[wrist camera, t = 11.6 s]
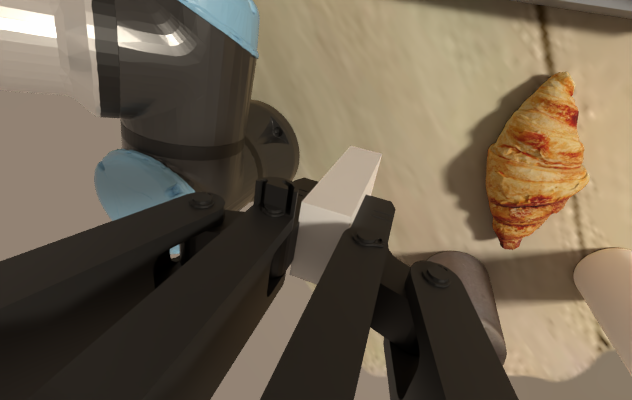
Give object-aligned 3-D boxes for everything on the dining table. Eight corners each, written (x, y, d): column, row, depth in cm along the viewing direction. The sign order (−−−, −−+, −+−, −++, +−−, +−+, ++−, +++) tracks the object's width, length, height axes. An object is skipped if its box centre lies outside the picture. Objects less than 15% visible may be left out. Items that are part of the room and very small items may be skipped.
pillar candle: (499, 296, 47) (524, 386, 34) (433, 310, 52) (434, 395, 39) (473, 241, 45) (489, 314, 32) (407, 260, 50) (398, 332, 37)
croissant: (519, 69, 39) (495, 70, 34) (631, 72, 32) (622, 74, 27) (480, 226, 47) (456, 245, 42) (563, 254, 41) (546, 281, 36)
